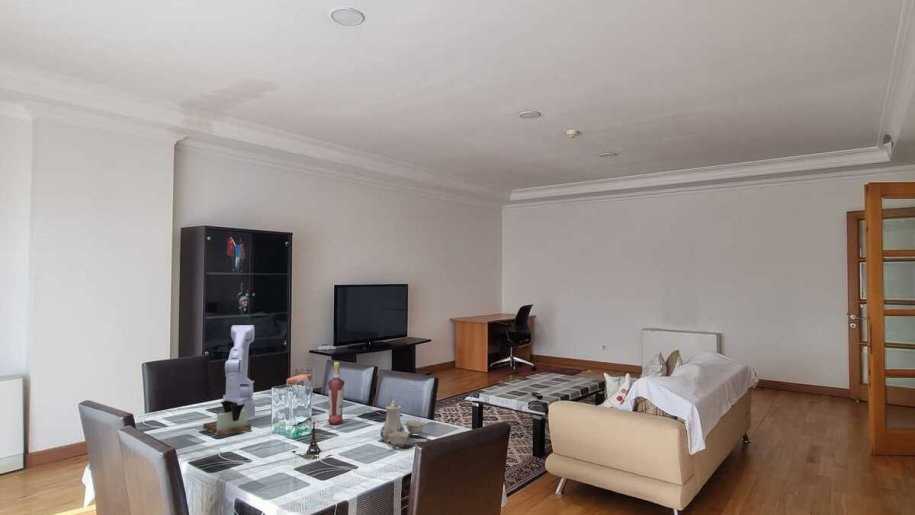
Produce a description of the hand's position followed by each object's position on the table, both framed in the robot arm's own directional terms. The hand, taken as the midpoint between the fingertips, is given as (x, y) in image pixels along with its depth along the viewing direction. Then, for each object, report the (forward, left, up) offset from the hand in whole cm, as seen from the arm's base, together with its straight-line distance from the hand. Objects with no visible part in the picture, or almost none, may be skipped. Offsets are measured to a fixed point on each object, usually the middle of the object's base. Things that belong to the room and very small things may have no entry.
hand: (232, 419), depth 229 cm
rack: (0, -5, -6) cm, 8 cm away
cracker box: (-29, +5, -6) cm, 30 cm away
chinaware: (-44, +59, -6) cm, 74 cm away
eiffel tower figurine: (-10, +48, -6) cm, 49 cm away
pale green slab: (0, 0, -5) cm, 5 cm away
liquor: (-40, +19, -6) cm, 44 cm away
